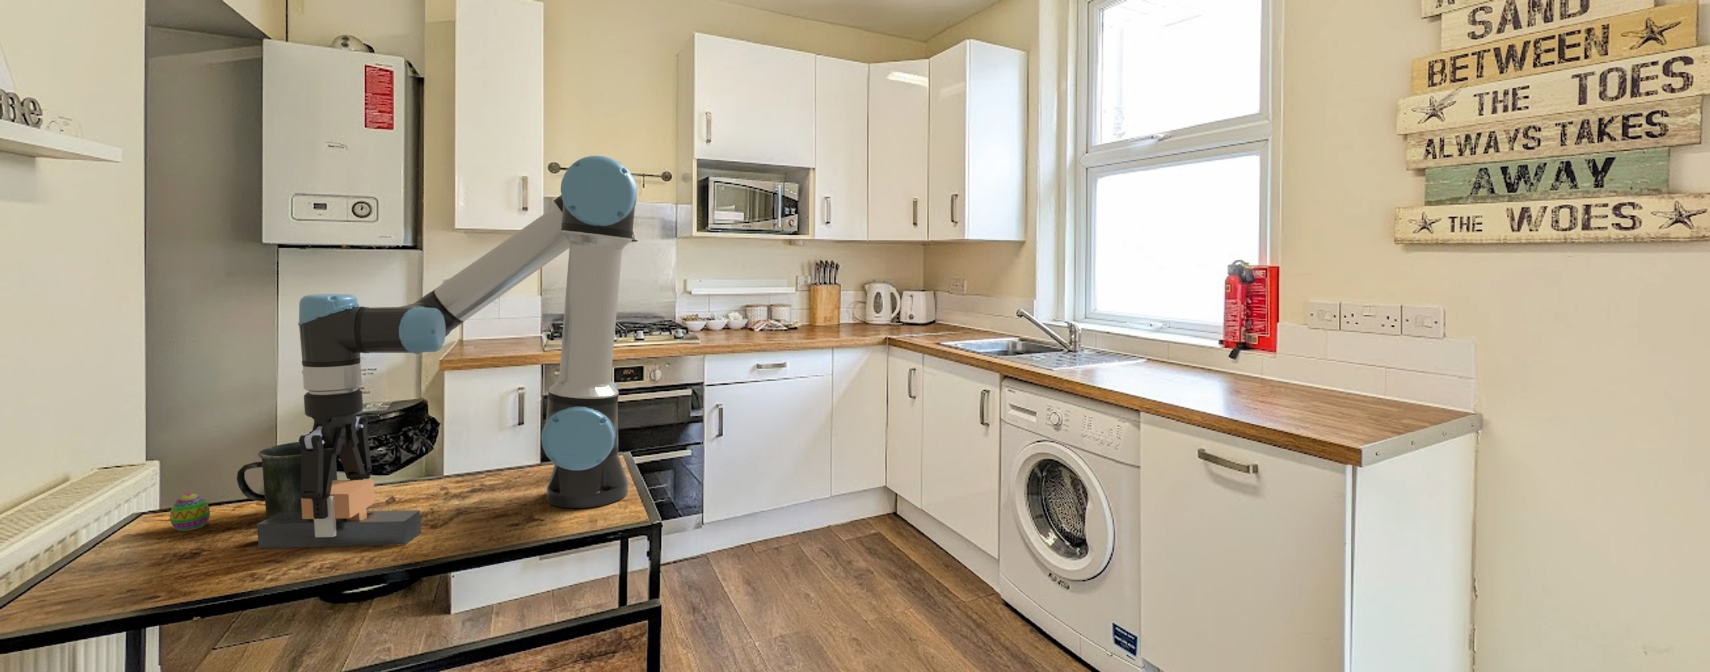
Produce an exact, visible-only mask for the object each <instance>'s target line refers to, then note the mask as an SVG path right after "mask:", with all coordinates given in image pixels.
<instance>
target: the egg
mask: <svg viewBox="0 0 1710 672" xmlns="http://www.w3.org/2000/svg"><path fill="white" fill-rule="evenodd" d="M210 517H211V510H210V506H209V503H208V501H206V499H205V498H204V497H202V496H201V495H199V494H196V493H185V494H183V495H181V496H180V497H179V498H178V499H176V501H175V502H174V503H173V505H172V507H171V510H170V515H169V519H170V523H171V526H172V528H174V529H175V530H176V531H179V532H191V531H196V530H198V529H202V528H203V527H204V526H205V525H206V524H207V523H208V522H209V520H210Z"/></svg>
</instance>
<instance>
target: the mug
mask: <svg viewBox="0 0 1710 672" xmlns="http://www.w3.org/2000/svg"><path fill="white" fill-rule="evenodd" d="M323 449H324V448H323ZM301 453H302V451H301V446H300V442H299V441H296V442H295V441H293V442H287V443H282V444H278V445H273V446H270V447H266V448H264V449H262V450H260V451H259V452H258V454H257V455H258V457H259V458H260V459H261V461H255V462H252V463H248V464H244V465H243V466H241V468H240V469H239V470H238V471H237V474H236V482H237V485H238V488H239V489H240V491H241V493H242V494H243V495H244V496H245V497H246V498H247V499H250V500H252V501H258V502H264V507H265V516H266V517H267V519H268V518H270V517H272V516H274V515H276V514H278V513H288V512H302V505H301ZM256 468H257V469H259V468H262V480H263V492H264V493H263V494H261V493H257V492H255V491H254V490H253V489H252V488H251V487H250V486H249V484H248V483H247V480H246V478H245V472H246V471H247V470H251V469H256ZM337 469H338V468H337V462H336V463H335V469H334V475H333V480H338V470H337Z"/></svg>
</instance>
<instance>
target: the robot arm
mask: <svg viewBox="0 0 1710 672" xmlns="http://www.w3.org/2000/svg"><path fill="white" fill-rule="evenodd" d="M637 189H638V188H637V184H636V181H635V178H634V177H633V175H632V173H631V172H630V170H629V169H628V168H627V167H626V166H625V165H623V164H622V163H621V162H619V161H617V160H615V159H613V158H612V157H611V158H610V157H607V156H603V155H589V156H584V157H582V158H580V159H577V160H576V161H575V162H573V163H572V164H571V165H570V166H569V167H568V168H567V169H566V171H565V173H564V175H563V177H562V180H561V183H560V193H561V194H560V195H559V196H558V197H556V198H555V199H553V200H552V201H551V208H550V209H549V210H547V212H545V213H543V214H542V215H541V216H539V217H538V218H536V219H535V220H533V221H532V222H531V223H529V224H527V225H526V226H524V227H522V229H520V230H519V231H517V232H516V233H514V234H513V235H512V236H510V237H508V238H507V239H505V240H504V241H503V242H501V243H499V244H498V245H497V246H495V247H494V248H492V249H491V250H490V251H488V252H486V253H485V254H484V255H482V256H481V257H479V258H478V259H476V260H475V261H474V262H472V263H470V264H469V265H468V266H466V267H465V268H463V269H462V270H460V271H459V272H458V273H456V274H455V275H453V276H451V277H450V278H449V279H447V280H446V281H444V282H443V283H441V284H440V285H438V286H437V287H436V288H434V289H433V290H432V291H429V292H428V293H426V294H425V295H424V296H423V297H421V298H419V299H418V300H416V301H415V302H413V303H411V304H410V303H409V304H407V305H402V306H392V307H391V306H388V307H387V306H384V307H379V306H377V307H375V306H374V307H369V306H360V304H359V302H358V298H357V297H356V295H354V294H345V293H344V294H343V293H318V294H307V295H305V296H303V297H302V298H300V300H299V303H298V305H299V306H298V307H299V309H298V312H299V313H298V323H297V325H298V328H299V330H298V331H299V338H300V339H299V341H300V351H301V352H300V353H301V365H302V371H301V374H302V380H303V382H302V384H303V389H304V391H307V392H306V393H305V394H304V395H303V407H304V415H305V416H306V417H308V418H312V419H313V426H312V429H311V431H312V432H311V433H309V434H301V435H300V436H299V438H298V442H300V446H301V451H302V453H301V498H305V499H312V501H313V516H314V526H315V537H334V536H336V535H337V534H336V518H335V501H334V496H330V493H331V487H332V481H333V475H334V469H335V463H336V464H337V456H338V457H339V458H340V461H341V465H342V468H343V471H344V474H345V477H346V480H370V478H371V475H372V474H371V473H370V472H371V471H372V468H373V467H372V457H371V451H370V445H369V444H370V443H369V437H368V424H369V422H368V421H369V419H368V418H369V417H367V416H356V415H357V414H359V413H360V412H362V410H363V408H364V404H363V391H362V390H361V389H360V388H359V387H362V385H363V382H362V381H363V380H362V366H361V354H370V353H371V354H376V353H377V354H387V353H388V354H394V353H395V354H398V353H399V354H400V353H401V354H408V353H409V354H415V355H418V354H423V353H435V352H438V351H440V350H441V349H442V348H443V345H444V343H445V339H446V337H447V336H449V335H450V333H451V332H452V331H453V330H454V329H456V328H458V327H459V326H460V325H461V324H463V323H464V322H465V321H467V320H468V319H470V318H472V317H473V316H474V315H476V314H477V313H478V312H479V311H481V310H482V309H484V308H485V307H487V306H488V305H490V304H491V303H493V302H494V301H496V300H497V299H498V298H500V297H501V296H503V295H505V293H507V292H508V291H511V289H513V288H514V287H516V286H517V285H518V284H520V283H521V282H523V281H524V280H525V279H527V278H529V277H530V276H532V275H533V274H534V273H535V272H537V271H539V270H540V269H541V268H543V267H544V266H546V265H547V264H549V263H550V262H551V261H553V260H555V259H556V258H557V257H559V256H560V255H562V254H563V253H565V252H566V251H567V250H568V262H567V263H568V264H567V273H566V288H565V299H564V311H563V312H564V313H563V324H562V337H561V338H562V339H561V349H560V350H561V351H560V361H559V374H558V375H559V377H558V380H557V381H555V383H553V384H552V385H551V386H550V387H549V388H548V394H547V407H546V415H545V416H546V417H545V418H546V420H545V423H544V424H543V428H542V429H541V435H540V438H541V439H540V440H541V445H542V448H543V451H544V454H545V455H546V457H547V458H548V460H550V461H551V462H552V463H553V464H554V465H553V468H552V471H551V474H550V477H549V481H548V484H547V487H546V499H547V500H546V501H547V502H548V503H549V504H550V505H553V506H556V507H560V508H567V509H588V508H593V507H600V506H605V505H608V504H612V503H615V502H617V501H618V502H619V501H620V500H622V499H623V498H625V497H626V496H627V495H628V492H629V480H628V477H627V475H626V472H625V470H624V467H623V463H622V461H621V459H620V456H619V417H618V416H619V414H618V413H619V412H618V411H619V408H618V405H619V404H618V403H619V395H620V393H619V392H620V391H619V390H618V386H617V384H616V383H615V382H613V381H612V372H613V370H612V369H613V362H614V361H613V359H614V348H615V347H614V346H615V335H616V326H617V325H616V323H617V310H618V301H619V290H620V277H621V267H622V266H621V265H622V256H623V255H622V253H623V249H624V248H625V247H626V246H628V245H629V244H630V243H631V242H632V241H633V233H634V232H633V231H634V224H635V223H634V221H635V220H634V219H635V210H636V204H637V195H638V190H637ZM323 448H324V449H323Z"/></svg>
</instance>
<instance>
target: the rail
mask: <svg viewBox="0 0 1710 672" xmlns="http://www.w3.org/2000/svg"><path fill="white" fill-rule="evenodd" d="M421 524H422V521H421V510H420V509H418V510H417V509H413V510H411V509H409V510H405V509H404V510H402V509H401V510H367V518H365V519H364V520H353V521H347V520H346V518H336V534H337V535H336V536H334V537H315V526H314V521H313V519H302V512H288V513H278V514H276V515H274V516H272V517H270V518H268V517H267V518H266V519H264V520H261V521H260V522H258V523H257V524H256V528H257V529H256V531H257V542H258V543H257V547H258V549H278V548H279V549H281V548H282V549H283V548H287V549H288V548H290V549H291V548H322V547H323V548H324V547H330V548H331V547H364V546H365V547H370V546H371V547H372V546H374V547H375V546H405V545H407V544H408V543H410V542H411V541H413V540H414V539H415V538H416V537H417V536H419V535H420V534H422V525H421Z"/></svg>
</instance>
